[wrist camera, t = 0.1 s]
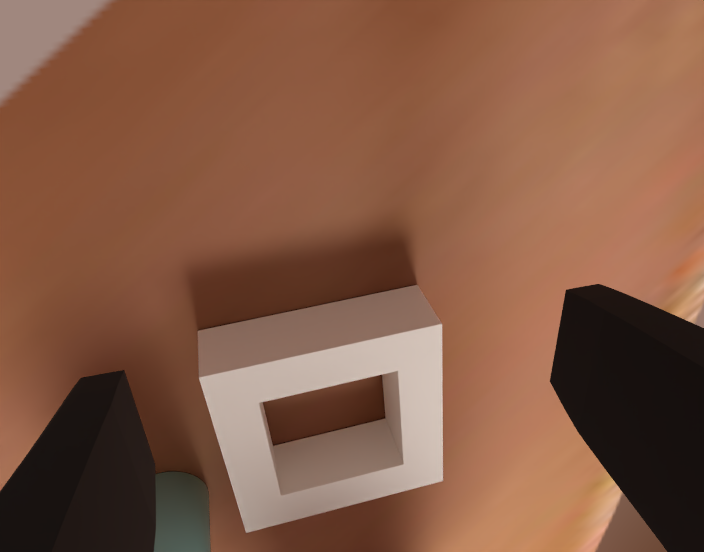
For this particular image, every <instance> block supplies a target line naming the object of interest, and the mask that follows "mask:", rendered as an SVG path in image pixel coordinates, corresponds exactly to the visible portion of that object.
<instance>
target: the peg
mask: <svg viewBox="0 0 704 552" xmlns="http://www.w3.org/2000/svg"><path fill="white" fill-rule="evenodd" d="M155 480H156V534H155V544H154V552H211V548H210V519H209V492H208V488H207V486H206V485H205V483H204V482H203V481H202V480H201V479H199V478H198V477H196V476H194V475H191V474H188V473H184V472H163V473H158V474H155Z"/></svg>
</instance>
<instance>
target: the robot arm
mask: <svg viewBox="0 0 704 552" xmlns="http://www.w3.org/2000/svg"><path fill="white" fill-rule="evenodd" d="M550 382H551V384H552V386H553V388H554V390H555V392H556V394H557V396H558V397H559V399H560V401H561V403H562V405H563V407H564V409H565V410H566V412H567V414H568V416H569V417H570V419H571V421H572V422H573V424H574V426H575V427H576V429H577V431H578V432H579V434H580V435H581V437H582V438H583V439H584V441H585V442H586V444H587V445H588V446H589V448H590V449H591V450H592V452H593V453H594V454H595V456H596V457H597V458H598V460H599V461H600V463H601V464H602V465H603V467H604V468H605V469H606V471H607V472H608V473H609V475H610V476H611V477H612V479H613V480H614V481H615V483H616V484H617V485H618V487H619V488H620V489H621V491H622V492H623V493H624V494H625V496H626V497H627V498H628V500H629V501H630V502H631V504H632V505H633V506H634V508H635V509H636V510H637V512H638V513H639V514H640V516H641V517H642V518H643V520H644V521H645V522H646V524H647V525H648V526H649V528H650V529H651V530H652V532H653V533H654V534H655V535H656V537H657V538H658V540H659V541H660V542H661V543H662V545H663V546H664V548H665V549H666V550H667V552H704V328H702V327H700V326H697V325H695V324H693V323H691V322H688V321H686V320H684V319H682V318H679V317H677V316H675V315H673V314H670V313H668V312H666V311H664V310H661V309H659V308H657V307H655V306H652V305H650V304H648V303H645V302H643V301H641V300H638V299H636V298H634V297H631V296H629V295H627V294H624V293H622V292H619V291H617V290H614V289H611V288H609V287H606V286H603V285H600V284H595V285H590V286H584V287H579V288H573V289H568V290H566V293H565V299H564V304H563V310H562V316H561V321H560V327H559V333H558V338H557V344H556V350H555V355H554V361H553V367H552V372H551V378H550ZM155 534H156V480H155V462H154V459H153V456H152V453H151V450H150V447H149V444H148V441H147V438H146V435H145V432H144V429H143V426H142V423H141V420H140V417H139V414H138V411H137V408H136V405H135V402H134V399H133V396H132V393H131V390H130V387H129V383H128V380H127V377H126V374H125V371H124V370H122V371H116V372H111V373H105V374H100V375H94V376H89V377H83V378H81V379H80V380H79V381H78V382H77V384H76V385H75V386H74V388H73V389H72V390H71V392H70V393H69V395H68V396H67V398H66V399H65V400H64V402H63V403H62V405H61V406H60V408H59V409H58V411H57V412H56V414H55V415H54V417H53V418H52V419H51V421H50V422H49V424H48V425H47V427H46V428H45V430H44V431H43V433H42V434H41V435H40V437H39V438H38V440H37V441H36V443H35V444H34V445H33V447H32V448H31V450H30V451H29V453H28V454H27V455H26V457H25V458H24V460H23V461H22V462H21V464H20V465H19V466H18V468H17V469H16V471H15V472H14V473H13V475H12V476H11V477H10V479H9V480H8V481H7V483H6V484H5V486H4V487H3V488H2V490H1V491H0V552H154V544H155Z"/></svg>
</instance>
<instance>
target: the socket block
mask: <svg viewBox="0 0 704 552" xmlns="http://www.w3.org/2000/svg"><path fill="white" fill-rule="evenodd" d="M198 364H199V380H200V383H201V387H202V390H203V393H204V396H205V400H206V403H207V406H208V409H209V413H210V416H211V419H212V423H213V426H214V429H215V432H216V436H217V439H218V442H219V445H220V449H221V452H222V455H223V459H224V462H225V465H226V468H227V472H228V475H229V478H230V481H231V485H232V488H233V491H234V495H235V498H236V501H237V504H238V508H239V511H240V514H241V518H242V521H243V524H244V527H245V531H246V533H248V532H252V531H256V530H260V529H263V528H267V527H271V526H275V525H279V524H282V523H286V522H290V521H294V520H297V519H301V518H305V517H309V516H313V515H316V514H320V513H324V512H328V511H331V510H335V509H339V508H343V507H347V506H350V505H354V504H358V503H362V502H365V501H369V500H373V499H377V498H381V497H384V496H388V495H392V494H396V493H399V492H403V491H407V490H411V489H415V488H418V487H422V486H426V485H430V484H433V483H437V482H441V481H443V401H442V323H441V321H440V320H439V318H438V317H437V315H436V313H435V312H434V310H433V309H432V307H431V305H430V304H429V302H428V301H427V299H426V297H425V296H424V294H423V293H422V291H421V290H420V288H419V286H418V285H414V286H409V287H404V288H399V289H395V290H390V291H385V292H380V293H376V294H371V295H366V296H361V297H357V298H352V299H347V300H342V301H337V302H333V303H328V304H323V305H318V306H314V307H309V308H304V309H299V310H295V311H290V312H285V313H280V314H275V315H271V316H266V317H261V318H256V319H252V320H247V321H242V322H237V323H232V324H228V325H223V326H218V327H213V328H209V329H204V330H199V331H198ZM378 375H382V381H383V393H384V406H385V419H381V420H377V421H373V422H369V423H365V424H361V425H357V426H353V427H349V428H344V429H340V430H336V431H332V432H328V433H324V434H320V435H316V436H312V437H307V438H303V439H299V440H295V441H291V442H287V443H283V444H279V445H275V446H273V444H272V440H271V435H270V431H269V427H268V423H267V418H266V414H265V410H264V406H263V402H266V401H270V400H274V399H279V398H283V397H287V396H292V395H296V394H300V393H305V392H309V391H313V390H317V389H322V388H326V387H330V386H335V385H339V384H343V383H348V382H352V381H356V380H361V379H365V378H369V377H374V376H378Z"/></svg>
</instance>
